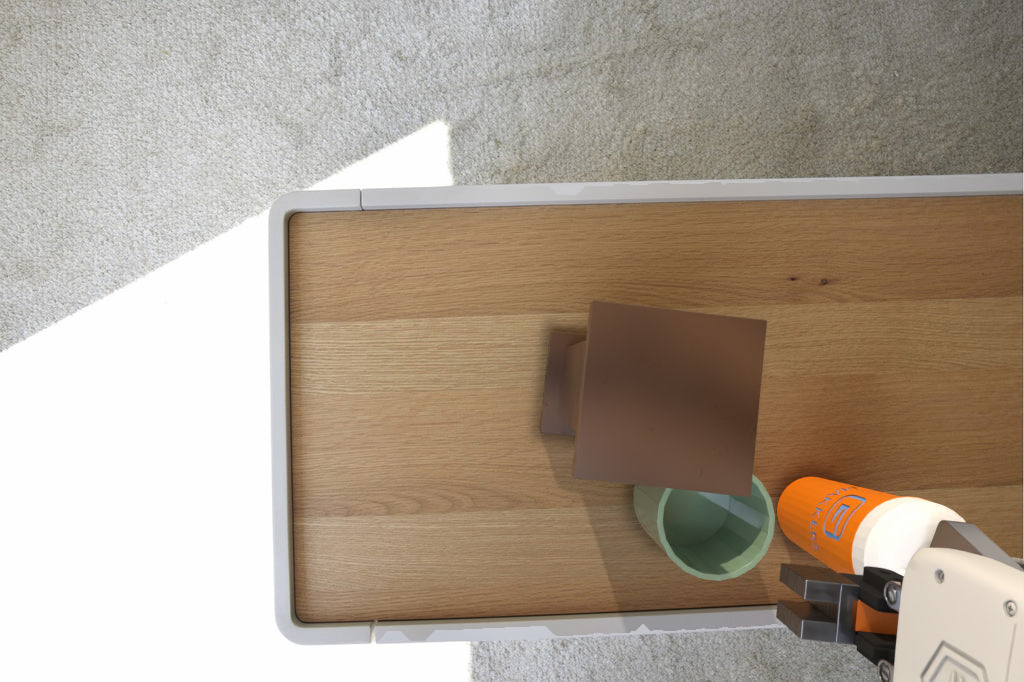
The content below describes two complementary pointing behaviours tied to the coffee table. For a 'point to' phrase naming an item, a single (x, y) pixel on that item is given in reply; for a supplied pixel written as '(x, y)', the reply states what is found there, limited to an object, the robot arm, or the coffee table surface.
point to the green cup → (708, 528)
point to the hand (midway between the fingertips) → (863, 603)
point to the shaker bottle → (858, 524)
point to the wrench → (828, 607)
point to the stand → (658, 397)
